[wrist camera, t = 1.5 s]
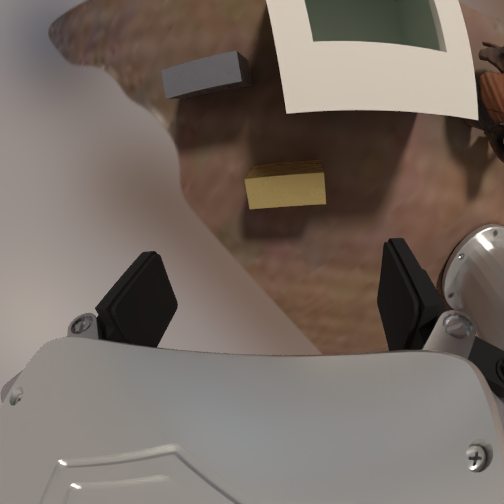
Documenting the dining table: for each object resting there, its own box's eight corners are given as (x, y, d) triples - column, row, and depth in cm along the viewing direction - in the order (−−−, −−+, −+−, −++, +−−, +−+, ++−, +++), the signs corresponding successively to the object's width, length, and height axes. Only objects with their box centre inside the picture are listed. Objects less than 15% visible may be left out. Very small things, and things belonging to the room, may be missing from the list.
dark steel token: (252, 85, 21) (241, 81, 17) (189, 98, 22) (166, 98, 18) (248, 60, 20) (236, 50, 16) (185, 74, 21) (161, 70, 17)
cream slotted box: (418, 109, 19) (478, 120, 11) (291, 110, 22) (286, 113, 13) (398, -4, 13) (441, -43, 5) (269, -6, 16) (251, -58, 7)
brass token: (321, 185, 25) (326, 204, 21) (258, 190, 26) (249, 209, 22) (319, 159, 24) (323, 172, 19) (254, 165, 25) (244, 179, 21)
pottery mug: (427, 50, 16) (488, 24, 8) (470, 65, 18) (520, 50, 10) (465, 171, 19) (537, 169, 11) (499, 163, 20) (554, 162, 12)
